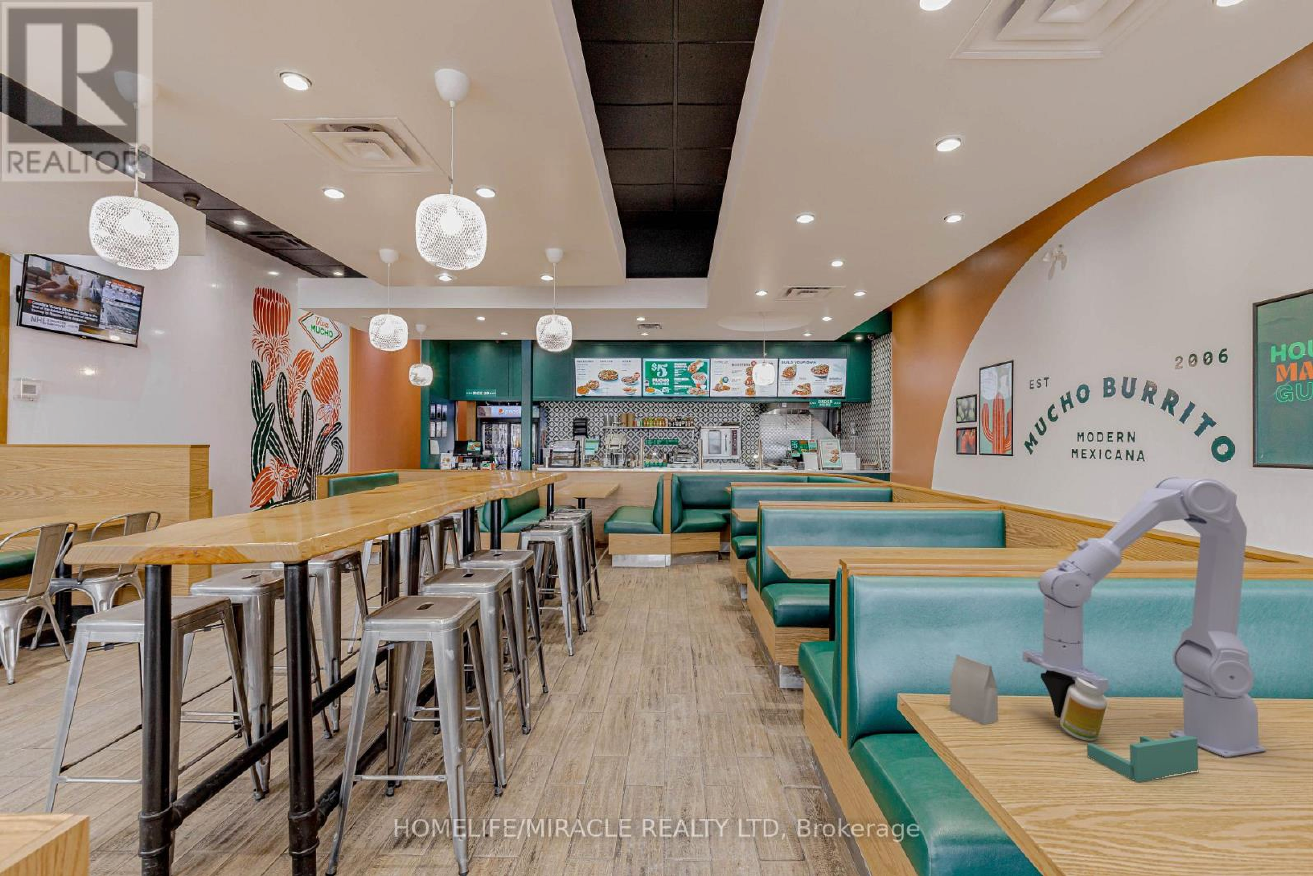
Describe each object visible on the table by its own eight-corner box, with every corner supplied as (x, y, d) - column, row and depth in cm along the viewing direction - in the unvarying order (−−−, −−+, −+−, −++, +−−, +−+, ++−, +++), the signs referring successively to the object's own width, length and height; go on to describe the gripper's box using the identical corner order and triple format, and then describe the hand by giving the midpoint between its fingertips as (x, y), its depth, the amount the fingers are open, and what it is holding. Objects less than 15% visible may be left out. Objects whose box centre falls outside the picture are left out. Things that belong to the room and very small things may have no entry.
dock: (1144, 748, 94) (1144, 717, 94) (1198, 772, 86) (1197, 738, 87) (1087, 756, 91) (1086, 724, 91) (1137, 782, 83) (1137, 747, 83)
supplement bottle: (1103, 745, 95) (1117, 695, 93) (1066, 737, 96) (1079, 687, 94) (1089, 722, 100) (1102, 674, 98) (1054, 715, 101) (1066, 667, 99)
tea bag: (984, 725, 101) (983, 667, 102) (950, 710, 107) (949, 655, 108) (997, 721, 103) (997, 665, 103) (963, 706, 109) (963, 653, 109)
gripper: (1009, 627, 107) (1008, 701, 107) (1084, 653, 93) (1083, 738, 93) (1040, 625, 109) (1039, 698, 108) (1118, 651, 95) (1117, 735, 94)
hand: (1061, 717), depth 101 cm, fingers closed, pressing on supplement bottle
